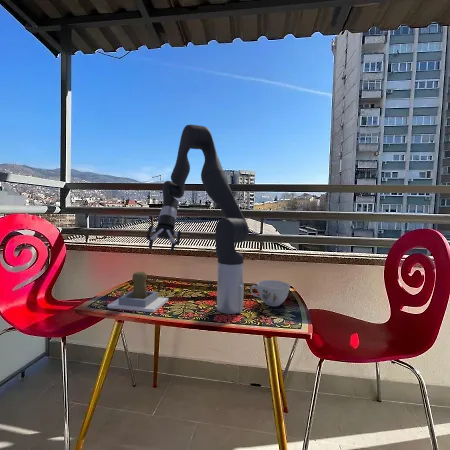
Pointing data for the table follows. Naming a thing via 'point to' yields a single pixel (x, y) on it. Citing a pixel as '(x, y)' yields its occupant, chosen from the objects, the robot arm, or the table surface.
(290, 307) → the table surface
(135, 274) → the cork
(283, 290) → the teacup
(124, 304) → the socket board
